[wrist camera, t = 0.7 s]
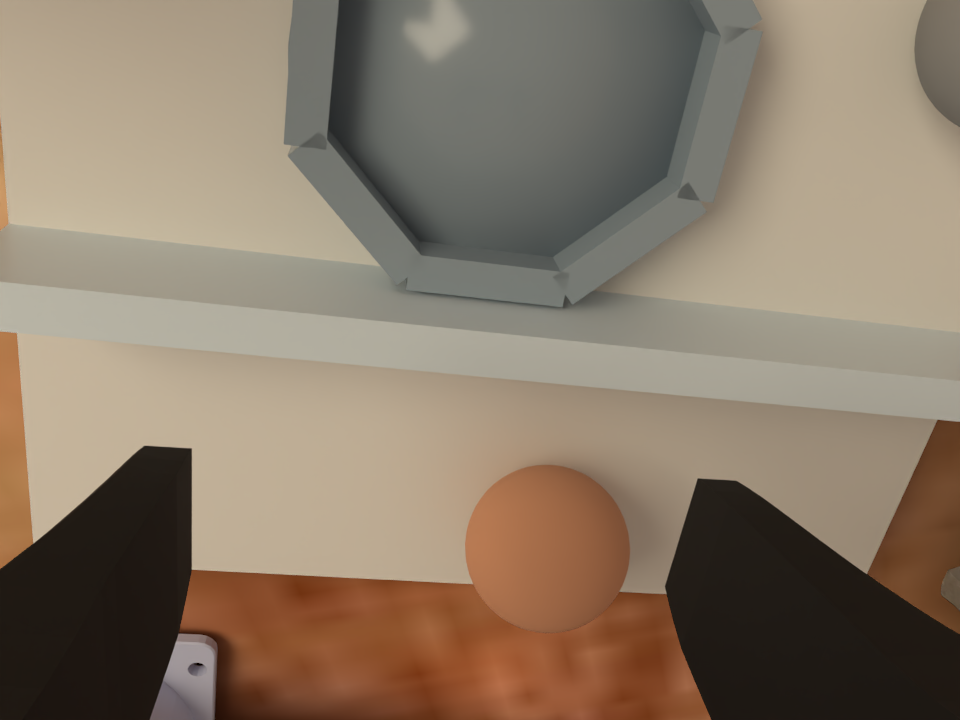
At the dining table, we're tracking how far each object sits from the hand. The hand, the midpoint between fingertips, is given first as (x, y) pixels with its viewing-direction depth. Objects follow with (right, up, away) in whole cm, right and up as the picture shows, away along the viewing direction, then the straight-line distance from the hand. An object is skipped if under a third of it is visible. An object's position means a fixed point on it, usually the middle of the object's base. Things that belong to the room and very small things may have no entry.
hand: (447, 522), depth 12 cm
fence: (+2, +4, +9) cm, 10 cm away
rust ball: (+2, -2, +9) cm, 9 cm away
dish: (+1, +8, +6) cm, 10 cm away
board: (+2, +4, +9) cm, 10 cm away
